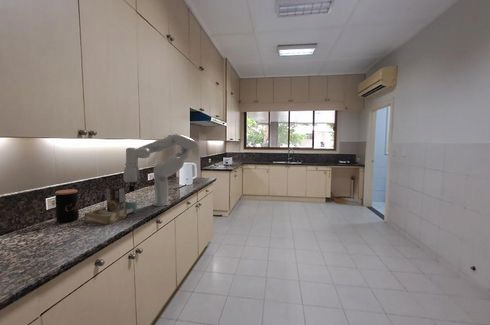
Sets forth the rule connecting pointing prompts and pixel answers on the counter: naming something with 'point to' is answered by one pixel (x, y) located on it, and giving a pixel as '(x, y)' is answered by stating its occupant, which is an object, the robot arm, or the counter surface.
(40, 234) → the counter surface
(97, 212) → the wooden drawer box
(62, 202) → the coffee jar
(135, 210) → the tray
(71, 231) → the counter surface
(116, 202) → the coffee box
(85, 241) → the counter surface
